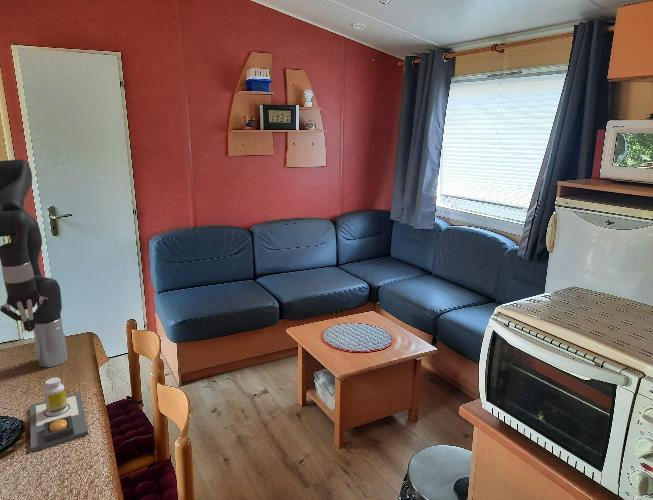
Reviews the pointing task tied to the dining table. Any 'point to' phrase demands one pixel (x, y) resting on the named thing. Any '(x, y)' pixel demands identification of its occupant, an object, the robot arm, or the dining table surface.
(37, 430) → the charcoal board
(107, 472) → the dining table surface
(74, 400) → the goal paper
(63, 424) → the button
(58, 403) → the supplement bottle
